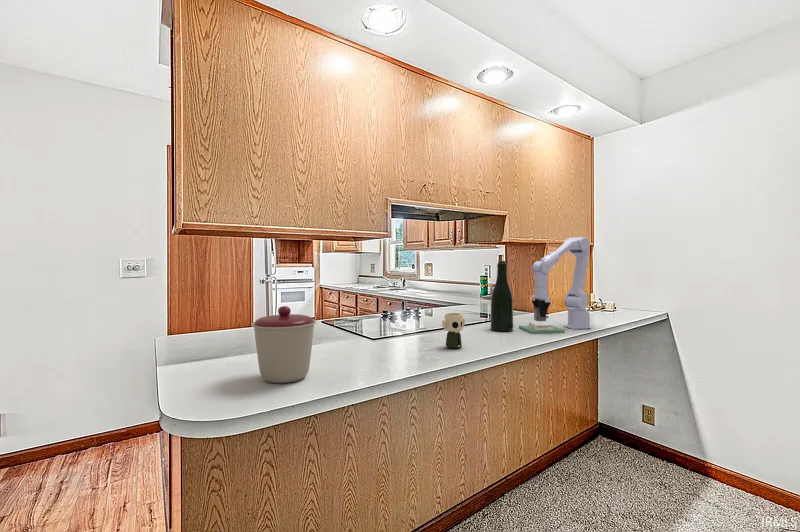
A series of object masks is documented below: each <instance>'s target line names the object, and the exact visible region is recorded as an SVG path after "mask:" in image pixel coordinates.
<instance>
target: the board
mask: <svg viewBox="0 0 800 532" xmlns="http://www.w3.org/2000/svg"><path fill="white" fill-rule="evenodd" d="M518 329H520V330H522V331H524V332H527V333H528V334H531V335H534V334H565V331H566V330H564V329H563V328H559V327H556V326H554V325H551V324H539V325H537V324H536V323H533V322H528V325H518Z"/></svg>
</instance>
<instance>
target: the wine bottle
mask: <svg viewBox="0 0 800 532" xmlns="http://www.w3.org/2000/svg"><path fill="white" fill-rule="evenodd" d="M497 262H498V263H497V265H496V266H497V270H496V271H497V272H496V281H495V284H494V287H493V290H492V292H491V297H490V298H491V299H490V323H489V324H490V326H489V327H490V330H491V331H494V332H497V333H498V332H500V333H502V332H503V333H504V332H505V333H507V332H512V331H513V330H514V300H513V293H512V290H511V287H510V285H509V281H508V276H507V275H508V273H507V271H508V270H507V269H508V268H507V267H508V264H507V263H506V261H505V260H498V261H497Z"/></svg>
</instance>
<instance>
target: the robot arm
mask: <svg viewBox="0 0 800 532" xmlns="http://www.w3.org/2000/svg"><path fill="white" fill-rule="evenodd" d="M590 246H591V242H590V240H589V239H588V237H586V236H579V237H567V239H564V241H563V243H562V244H561V245H560V246H559V247H558V248H556V250H555V251H549V252H547V253H546V254H545V256H544V257H541V258H540V260H537V261H534V263H533V264H532V267H531V271H532V272H533V277H534V294H532V296H531V299H532V300H531V302H532V305H533V308H534V307H539V309H540V316H541V317H546V316H547V313H548V310H549V307H550V306H551V298H550V297H549V296H548V290H549V289H548V288H549V287H548V286H549V285H548V283H549V281H548V278H549V276H548V275H549V273H550V272H551V269H552V268H553V267H554V266H555V265H556V264H557V263H559V262H560V258H561V257H562V256H564V255H565V254H566V253H568V252H570V253H571V254H572V255H573V256H575V258H576V259H575V265H574V270H573V277H572V284H571V289H569V290H568V291H567V292H566V296H565V297H564V300H563V302H564V306H565V307H566V310H567V324H565V325H563V327H565V328H569V329H572V330H576V329H577V330H581V329H584V330H585V329H586V330H587V329H588V328H590V329H591V327H590V326H591V324H590V323H591V318H590V317H591V316H590V315H591V314H590V312H589V310H588V309H587V308H588V305H589V300H588V294H587V293H586V292H585V291H584V289H585V283H586V282H585V281H586V278H587V277H586V276H587V272H588V271H587V270H588V265H589V264H588V263H589V258H590V257H589V256H590V248H591V247H590ZM588 330H589V329H588Z"/></svg>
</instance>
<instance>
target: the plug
mask: <svg viewBox="0 0 800 532" xmlns="http://www.w3.org/2000/svg"><path fill="white" fill-rule="evenodd" d="M548 318H549V316H548V315H546V317H541V316H540V309H539V307H534V306H533V321H536V322H546V321H547V319H548Z"/></svg>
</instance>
